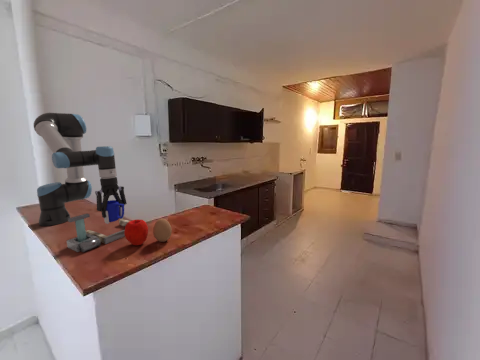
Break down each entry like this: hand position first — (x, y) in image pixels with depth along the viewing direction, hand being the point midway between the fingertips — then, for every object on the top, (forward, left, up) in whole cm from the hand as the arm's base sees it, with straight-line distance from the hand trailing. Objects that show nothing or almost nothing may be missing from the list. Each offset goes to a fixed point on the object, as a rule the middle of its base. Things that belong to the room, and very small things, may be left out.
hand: (114, 220), depth 120 cm
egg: (+30, +5, -7) cm, 32 cm away
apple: (+22, -3, -7) cm, 24 cm away
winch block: (+2, -16, -7) cm, 18 cm away
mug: (0, +1, 0) cm, 1 cm away
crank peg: (0, -16, -6) cm, 17 cm away
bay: (-1, 0, -7) cm, 7 cm away
